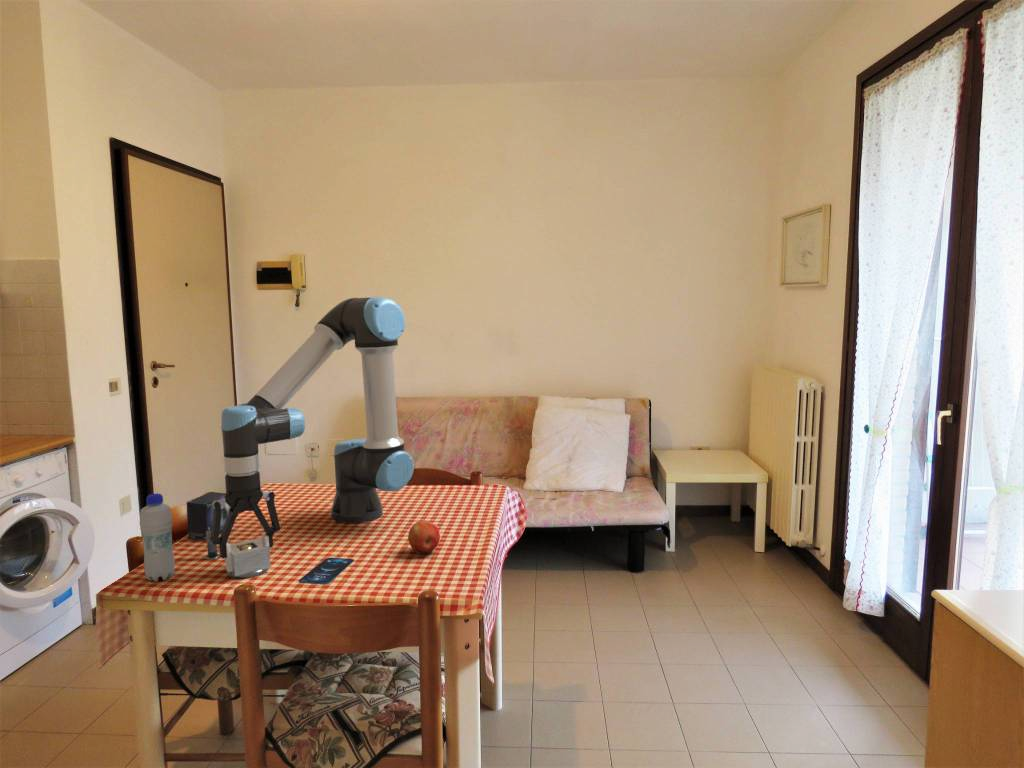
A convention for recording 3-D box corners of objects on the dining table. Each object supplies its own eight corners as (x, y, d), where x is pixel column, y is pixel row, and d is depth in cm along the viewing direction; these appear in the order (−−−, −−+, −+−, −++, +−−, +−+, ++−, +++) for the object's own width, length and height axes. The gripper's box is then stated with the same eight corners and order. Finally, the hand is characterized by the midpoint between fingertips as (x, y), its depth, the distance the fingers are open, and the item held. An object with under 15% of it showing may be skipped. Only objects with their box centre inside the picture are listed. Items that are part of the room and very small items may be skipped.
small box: (208, 541, 176) (205, 503, 174) (187, 539, 177) (184, 502, 176) (232, 528, 186) (230, 492, 185) (212, 526, 187) (209, 491, 186)
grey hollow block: (260, 557, 161) (259, 538, 160) (270, 567, 154) (269, 547, 154) (226, 565, 156) (224, 545, 155) (235, 576, 150) (233, 555, 149)
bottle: (152, 572, 155) (145, 490, 153) (181, 570, 156) (175, 489, 153) (138, 584, 149) (131, 498, 146) (169, 582, 149) (162, 497, 147)
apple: (439, 545, 171) (438, 515, 170) (441, 557, 162) (440, 526, 162) (408, 547, 169) (407, 517, 168) (408, 559, 161) (408, 528, 160)
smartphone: (356, 559, 162) (328, 583, 147) (356, 561, 162) (328, 586, 147) (327, 557, 163) (296, 581, 149) (327, 559, 163) (296, 583, 149)
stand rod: (222, 554, 166) (220, 528, 165) (216, 560, 162) (215, 532, 161) (208, 555, 165) (206, 528, 165) (203, 560, 162) (201, 533, 161)
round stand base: (273, 562, 160) (272, 539, 159) (261, 578, 151) (259, 553, 150) (236, 563, 160) (234, 540, 159) (221, 579, 151) (219, 554, 150)
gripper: (281, 462, 162) (286, 550, 164) (190, 476, 149) (197, 571, 152) (292, 468, 156) (297, 559, 159) (197, 483, 143) (204, 582, 146)
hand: (248, 565), depth 155 cm, fingers closed on grey hollow block, 8 cm apart
